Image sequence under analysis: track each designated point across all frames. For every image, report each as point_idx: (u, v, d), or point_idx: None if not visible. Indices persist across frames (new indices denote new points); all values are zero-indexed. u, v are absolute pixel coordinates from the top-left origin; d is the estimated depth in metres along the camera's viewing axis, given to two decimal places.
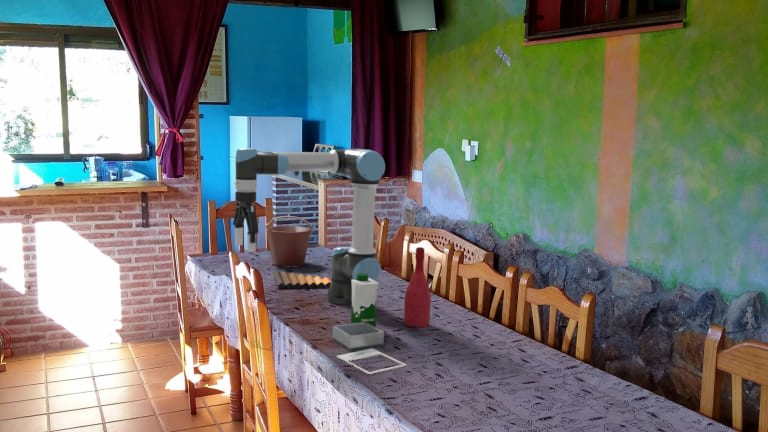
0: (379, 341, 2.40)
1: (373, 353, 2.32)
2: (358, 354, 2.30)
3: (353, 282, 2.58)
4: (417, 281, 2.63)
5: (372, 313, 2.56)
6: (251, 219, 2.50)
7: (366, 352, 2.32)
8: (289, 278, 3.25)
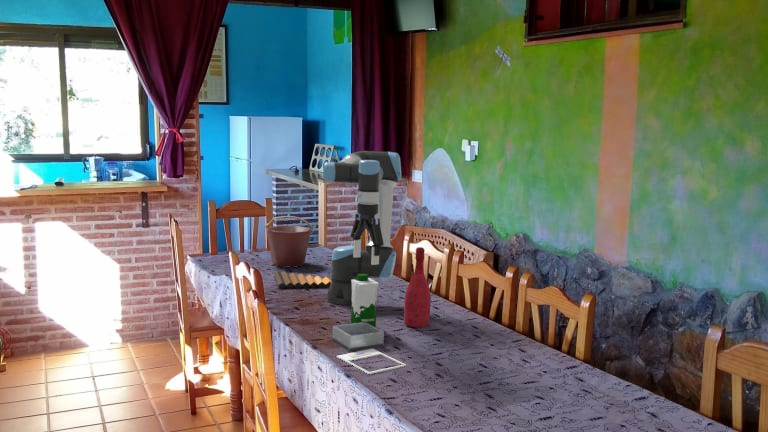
0: (379, 341, 2.40)
1: (373, 353, 2.32)
2: (358, 354, 2.30)
3: (353, 282, 2.58)
4: (417, 281, 2.63)
5: (372, 313, 2.56)
6: (376, 232, 2.48)
7: (366, 352, 2.32)
8: (289, 278, 3.26)
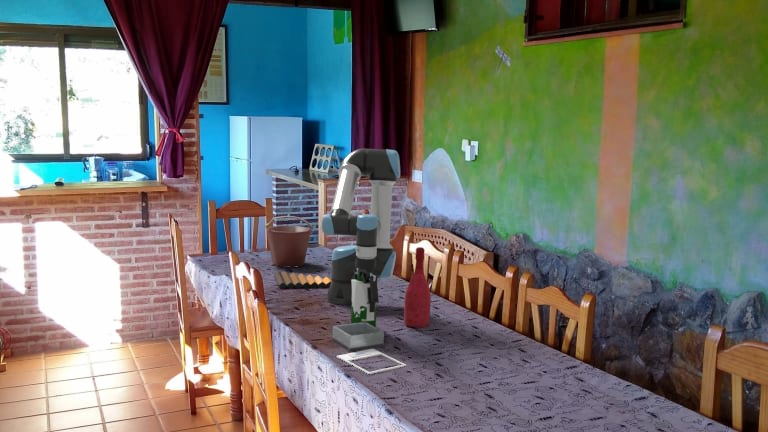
0: (379, 341, 2.40)
1: (373, 353, 2.32)
2: (358, 354, 2.30)
3: (353, 282, 2.58)
4: (417, 281, 2.63)
5: None
6: (372, 289, 2.52)
7: (366, 352, 2.32)
8: (290, 278, 3.26)
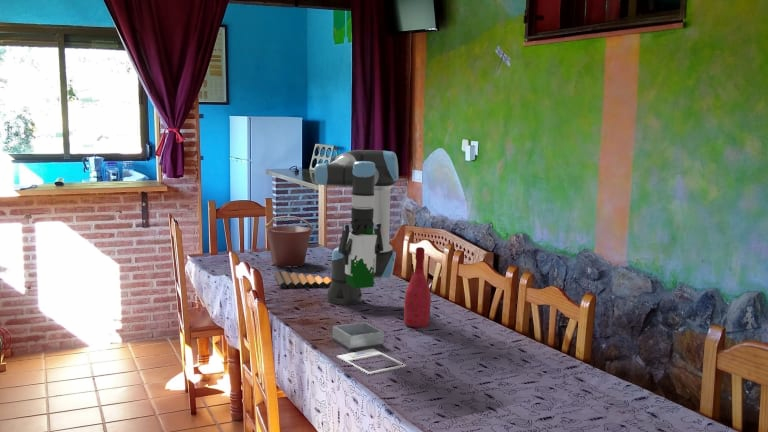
0: (379, 341, 2.40)
1: (373, 353, 2.32)
2: (358, 354, 2.30)
3: None
4: (417, 281, 2.63)
5: None
6: (341, 238, 2.35)
7: (366, 352, 2.32)
8: (290, 278, 3.26)
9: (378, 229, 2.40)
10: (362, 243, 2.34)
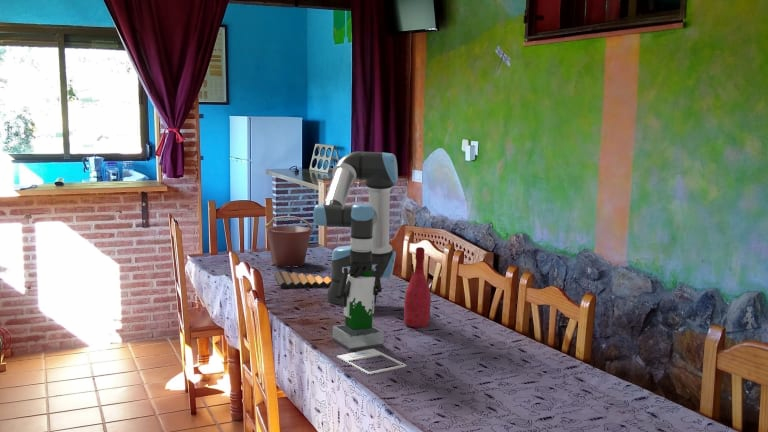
0: (379, 341, 2.40)
1: (373, 353, 2.32)
2: (358, 354, 2.30)
3: None
4: (417, 281, 2.63)
5: None
6: (340, 281, 2.37)
7: (366, 352, 2.32)
8: (291, 277, 3.27)
9: (376, 271, 2.42)
10: (360, 286, 2.36)
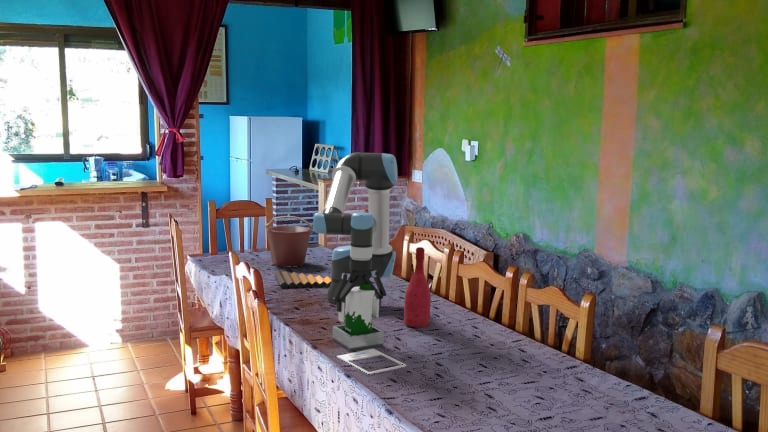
0: (379, 341, 2.40)
1: (373, 353, 2.32)
2: (358, 354, 2.30)
3: None
4: (417, 281, 2.63)
5: (348, 323, 2.39)
6: (337, 286, 2.37)
7: (366, 352, 2.32)
8: (291, 277, 3.27)
9: (377, 277, 2.43)
10: (360, 299, 2.37)
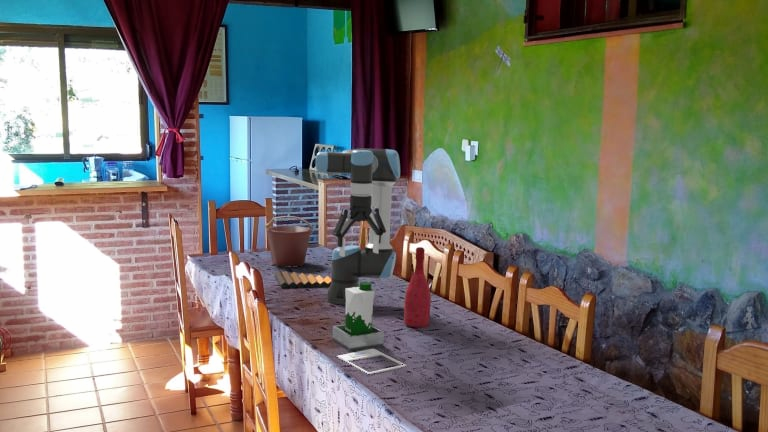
0: (379, 341, 2.40)
1: (373, 353, 2.32)
2: (358, 354, 2.30)
3: None
4: (417, 281, 2.63)
5: (348, 323, 2.39)
6: (338, 222, 2.43)
7: (367, 352, 2.32)
8: (291, 277, 3.27)
9: (377, 213, 2.48)
10: (360, 300, 2.37)
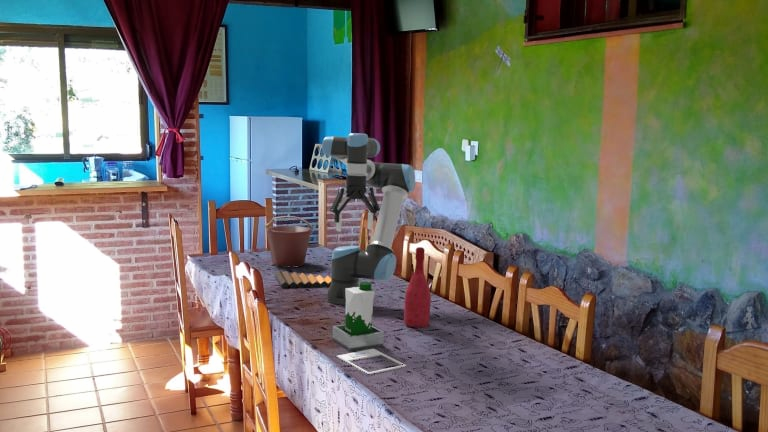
0: (379, 341, 2.40)
1: (374, 353, 2.32)
2: (358, 354, 2.30)
3: None
4: (417, 281, 2.63)
5: (348, 323, 2.39)
6: (335, 199, 2.63)
7: (367, 352, 2.32)
8: (291, 277, 3.27)
9: (371, 192, 2.68)
10: (360, 300, 2.37)
